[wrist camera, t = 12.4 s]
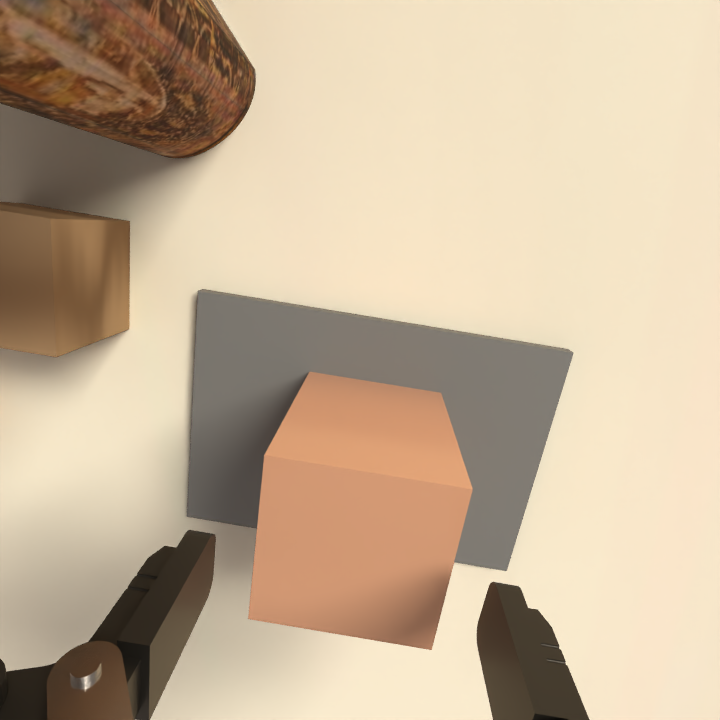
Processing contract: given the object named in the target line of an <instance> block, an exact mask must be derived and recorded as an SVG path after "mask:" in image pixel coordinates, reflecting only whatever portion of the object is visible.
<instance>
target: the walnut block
mask: <svg viewBox="0 0 720 720" xmlns="http://www.w3.org/2000/svg"><path fill="white" fill-rule="evenodd" d="M129 282H130V221H126V220H119V219H113V218H107V217H101V216H95V215H89V214H83V213H77V212H71V211H65V210H59V209H52V208H46V207H40V206H34V205H28V204H22V203H10V202H0V348H5V349H11V350H17V351H23V352H29V353H35V354H41V355H47V356H53V357H58V356H61V355H63V354H66V353H68V352H71V351H74V350H76V349H79V348H81V347H84V346H87V345H89V344H92V343H94V342H97V341H99V340H102V339H105V338H107V337H110V336H112V335H115V334H118V333H120V332H123V331H125V330H128V329H129Z"/></svg>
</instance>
